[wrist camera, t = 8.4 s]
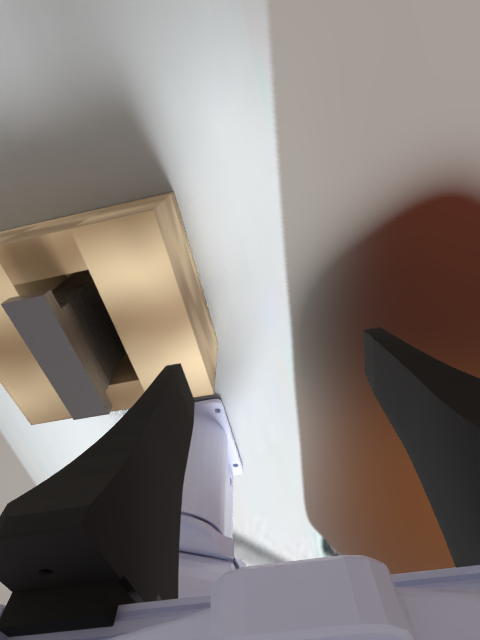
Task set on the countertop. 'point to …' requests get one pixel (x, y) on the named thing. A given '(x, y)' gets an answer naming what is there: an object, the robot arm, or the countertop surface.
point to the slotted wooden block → (112, 299)
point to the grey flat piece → (71, 341)
